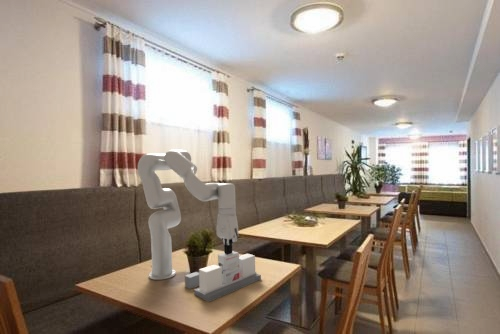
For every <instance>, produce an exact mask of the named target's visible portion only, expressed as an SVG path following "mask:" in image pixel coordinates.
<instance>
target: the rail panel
mask: <svg viewBox="0 0 500 334" xmlns="http://www.w3.org/2000/svg"><path fill="white" fill-rule="evenodd" d="M198 273H199V286H198V288H195V289H193V295H194V296H196V297H199V298H201V299H203V300H204V301H207V302H208V303H209V302H212V301H214V300H216V299H219V298H222V297H224V296H226V295H228V294H230V293H233V292H235V291H237V290H239V289H242V288H244V287H247V286H248V285H251V284H254V283H256V282H258V281H260V280H262V276H261V274H259V273H257V271H256V256H255V254H254V255H253V254H250V253H245V254H241V255H239V279H236V280H234V281H232V282H229V283H227V284H224V283H222V267H220V266H218V264H212V265H208V266H206V267H203V268H199V269H198Z"/></svg>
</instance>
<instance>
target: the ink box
mask: <svg viewBox="0 0 500 334" xmlns="http://www.w3.org/2000/svg"><path fill="white" fill-rule="evenodd" d="M239 256H240V253H239V252H238V251H234V250H232V253H230V254H225V253H224V252H223V253H219V254H217V265H218V266H220V267H222V283H224V284H227V283H229V282H232V281H234V280H236V279H239Z"/></svg>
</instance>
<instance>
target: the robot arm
mask: <svg viewBox="0 0 500 334" xmlns="http://www.w3.org/2000/svg"><path fill="white" fill-rule="evenodd" d="M169 170H170V171H171V170H172V171H173V172H174V173H176V174H177V175H178V176H179V177H180V178H181V179H182V180H183V184H184V186H185V189H187V191H188V193H190V194H191V195H192V196H193V197H194V198H196V199H197V200H199V201H201V202H208V201H213V200H218V201H217V202H218V205H217V206H218V214H217V216H216V217H217V219H216V231H215V232H216V236H217V237H218V238H219V239H220V240H222V242H223V243H222V244H223V246H224V252H223V253H225V254H230V253H232V251H233V245H234V243H236V242H238V237H239V222H238V217H237V211H236V209H237V207H236V204H237V203H236V186H235V184H234V183H232V182H231V183H230V182H229V183H228V182H227V183H225V182H224V183H220V182H209V183H204V182H203V181H201V180H200V179H199V178H198V177H197V176H196V174H197V171H198V167H197V165H196V164H195V163H193V162H192V156H191V153H189V151H187V150H183V149H170V150H168V151H166V152H165V153H154V152H153V153H146V154H144V155H142V156H141V157H140V158H139V160H138V163H137V172H138V176H139V178H140V181H141V185H142V189H143V192H144V196H145V200H146V203H147V206H148V208H150V210H151V209H152V210H156V209H157V210H158V209H162V210H158V211H155V212H153V213H151V214H150V216H149V217H148V221H147V222H148V228H149V233H150V243H151V246H150V247H151V251H150V252H151V265H150V268H151V271H150V272H149V274H148V279H150V280H155V281H159V280H160V281H162V280H167V279H170V278H172V277H174V276H175V275H176V274H177V273H176V270H175V269H174V268H173V250H172V249H173V248H172V236H171V234H170V232H169V229H173V228H175V227H177V226H178V225H179V224H180V223H181V221H182V215H181V209H180V206H179V202H178V198H177V195H176V193H175V191H174V190H173V189H171V188H168V187H167V188H166V187H164V188H163V187H162V183H161V180H160V178H159V176H158V175H157V173H156V172H157V171H169Z"/></svg>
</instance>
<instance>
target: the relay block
mask: <svg viewBox="0 0 500 334" xmlns="http://www.w3.org/2000/svg"><path fill="white" fill-rule="evenodd" d="M184 287H185V288H187V289H189V290H191V289H194V288H196V287H199V271H194V272H192V273H187V274H185V275H184Z"/></svg>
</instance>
